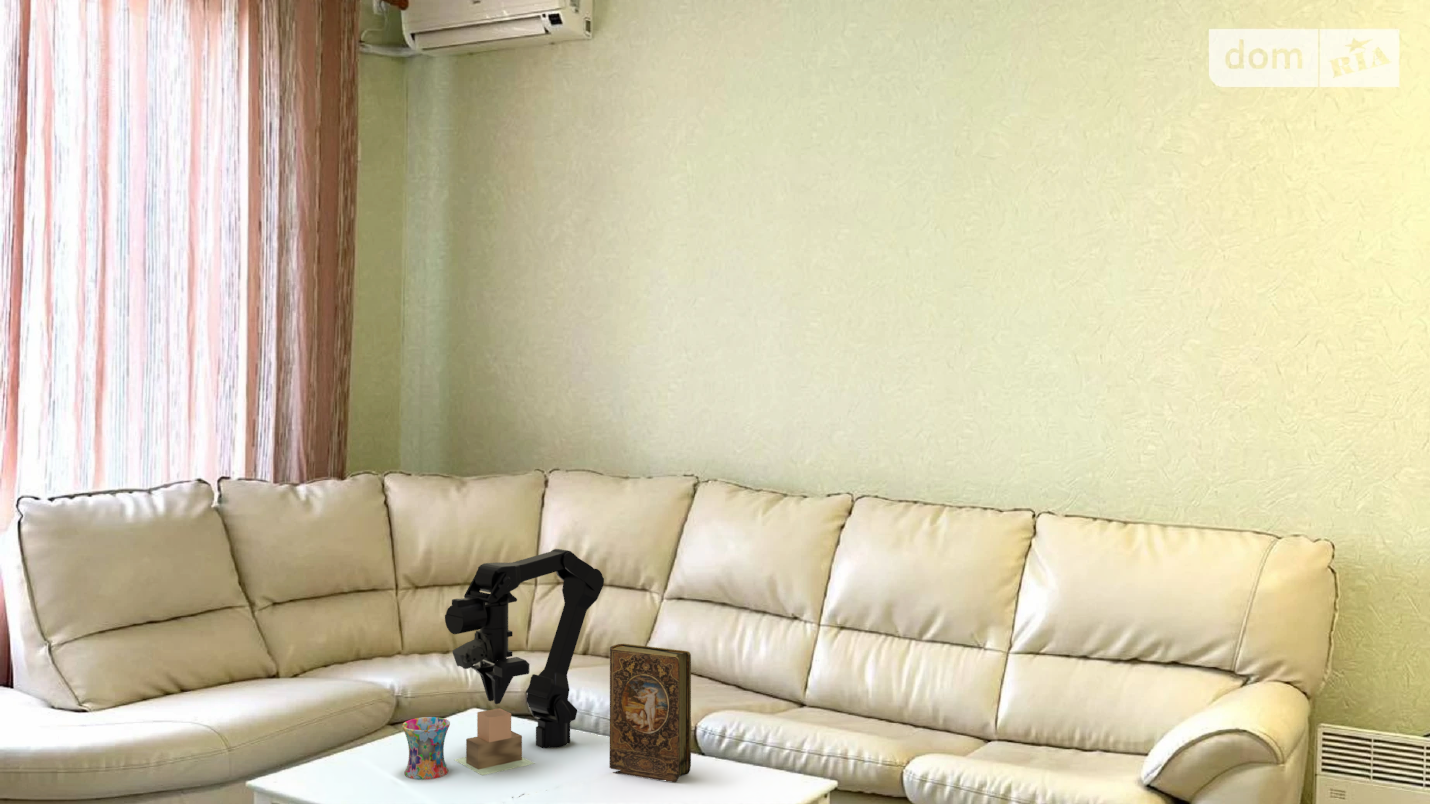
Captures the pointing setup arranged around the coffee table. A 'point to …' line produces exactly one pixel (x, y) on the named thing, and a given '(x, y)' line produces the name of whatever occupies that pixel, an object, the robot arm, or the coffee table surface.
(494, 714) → the cube
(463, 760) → the baseplate
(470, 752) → the walnut brick
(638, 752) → the book
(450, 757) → the coffee table surface
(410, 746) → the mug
